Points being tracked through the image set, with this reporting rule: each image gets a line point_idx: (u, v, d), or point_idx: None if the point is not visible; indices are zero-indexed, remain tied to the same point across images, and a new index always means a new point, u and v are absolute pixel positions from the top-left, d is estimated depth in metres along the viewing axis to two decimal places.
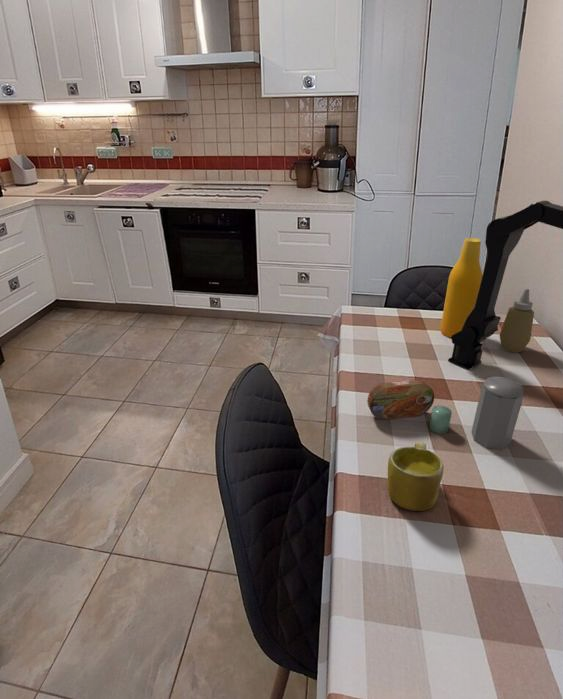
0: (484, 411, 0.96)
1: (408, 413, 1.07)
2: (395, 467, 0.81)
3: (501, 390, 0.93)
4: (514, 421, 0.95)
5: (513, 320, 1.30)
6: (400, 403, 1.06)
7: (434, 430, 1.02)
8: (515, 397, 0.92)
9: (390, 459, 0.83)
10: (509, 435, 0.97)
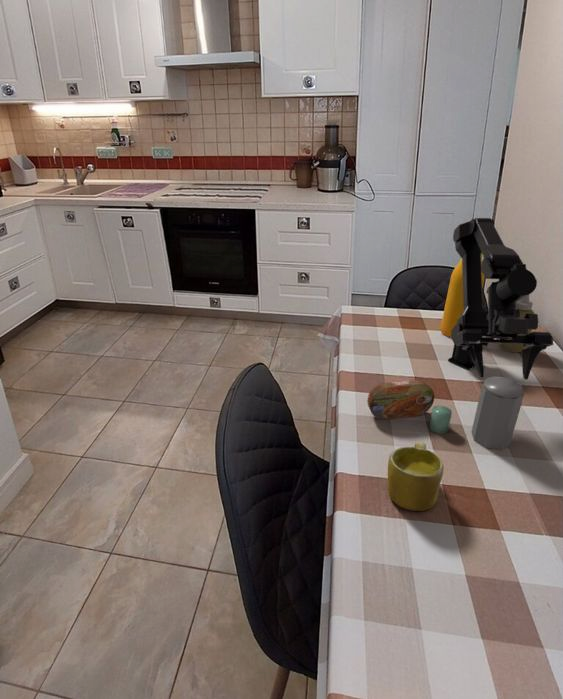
0: (484, 411, 0.96)
1: (408, 413, 1.07)
2: (395, 467, 0.81)
3: (501, 390, 0.93)
4: (514, 421, 0.95)
5: None
6: (400, 403, 1.06)
7: (434, 430, 1.02)
8: (515, 397, 0.92)
9: (390, 459, 0.83)
10: (509, 435, 0.97)
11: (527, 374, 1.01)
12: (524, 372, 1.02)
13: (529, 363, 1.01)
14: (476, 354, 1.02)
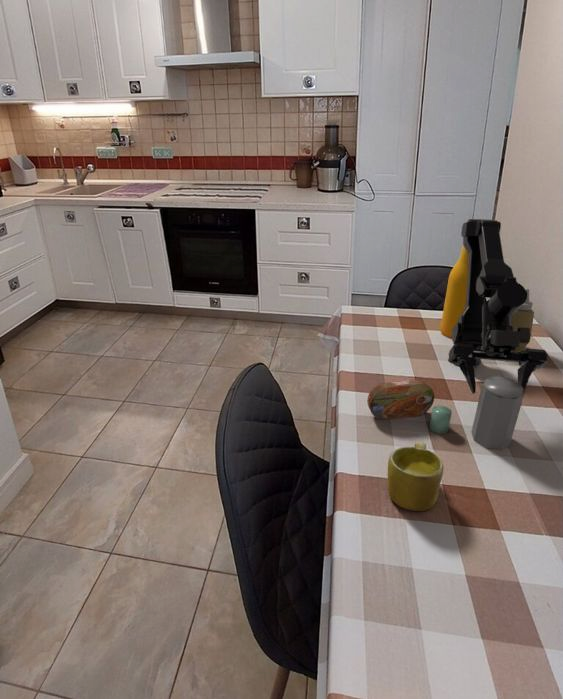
0: (484, 411, 0.96)
1: (408, 413, 1.07)
2: (395, 467, 0.81)
3: (501, 390, 0.93)
4: (514, 421, 0.95)
5: (513, 320, 1.30)
6: (400, 403, 1.06)
7: (434, 430, 1.02)
8: (515, 397, 0.92)
9: (390, 459, 0.83)
10: (509, 435, 0.97)
11: None
12: None
13: (524, 380, 0.98)
14: (468, 369, 0.99)
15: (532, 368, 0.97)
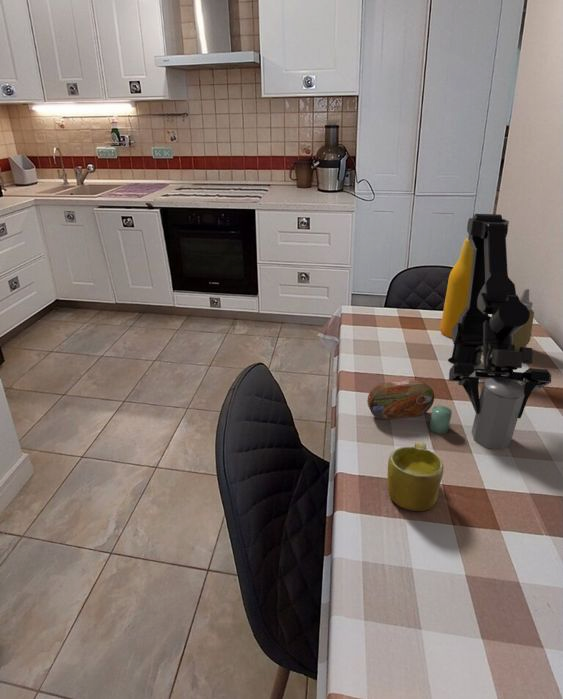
0: (484, 411, 0.96)
1: (408, 413, 1.07)
2: (395, 467, 0.81)
3: (502, 390, 0.93)
4: (514, 421, 0.95)
5: None
6: (400, 403, 1.06)
7: (434, 430, 1.02)
8: (516, 397, 0.92)
9: (390, 459, 0.83)
10: (509, 435, 0.97)
11: (520, 412, 0.95)
12: None
13: None
14: (472, 389, 0.97)
15: (531, 388, 0.95)
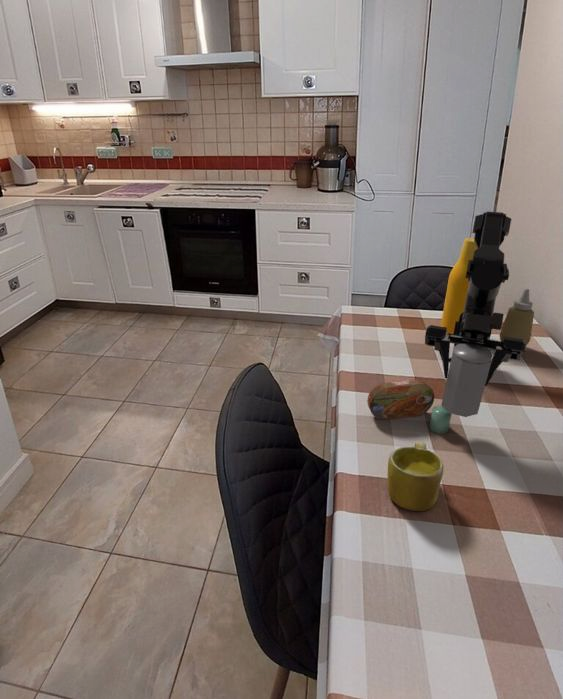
0: (450, 375, 0.95)
1: (408, 413, 1.07)
2: (395, 467, 0.81)
3: (467, 355, 0.92)
4: (480, 389, 0.94)
5: (513, 320, 1.30)
6: (400, 403, 1.06)
7: (434, 430, 1.02)
8: (479, 363, 0.90)
9: (390, 459, 0.83)
10: (475, 403, 0.95)
11: (487, 380, 0.93)
12: None
13: (491, 368, 0.94)
14: (442, 352, 0.97)
15: (501, 356, 0.93)
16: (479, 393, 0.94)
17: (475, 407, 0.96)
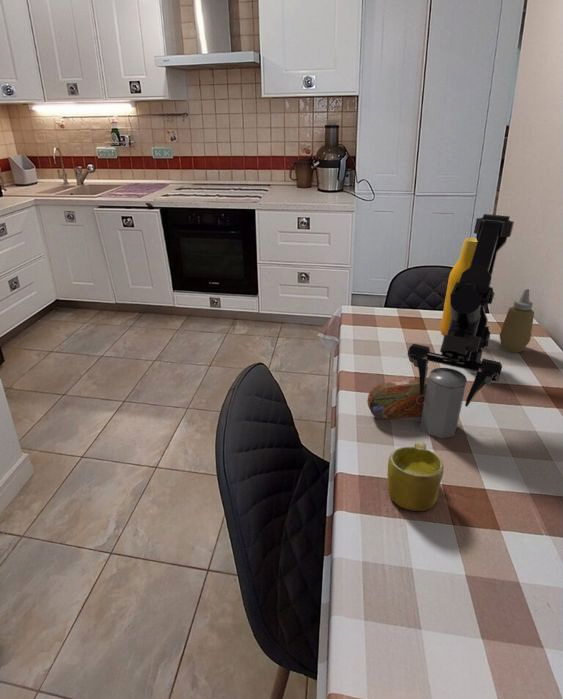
0: (427, 398, 1.00)
1: (408, 413, 1.07)
2: (395, 467, 0.81)
3: (442, 379, 0.97)
4: (455, 412, 0.98)
5: (513, 320, 1.30)
6: (400, 403, 1.06)
7: None
8: (452, 388, 0.95)
9: (390, 459, 0.83)
10: (450, 426, 1.00)
11: (467, 400, 0.97)
12: None
13: (472, 389, 0.97)
14: (419, 370, 1.01)
15: (482, 378, 0.96)
16: (454, 416, 0.99)
17: (451, 429, 1.00)
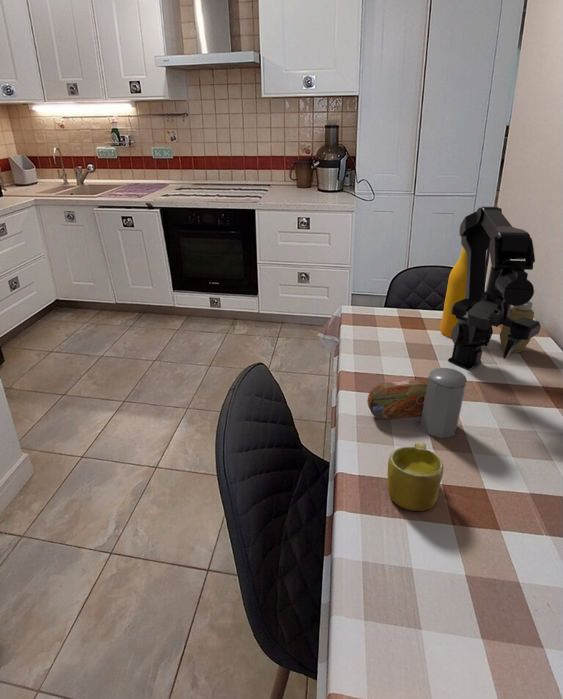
0: (427, 398, 1.00)
1: (408, 413, 1.07)
2: (395, 467, 0.81)
3: (442, 379, 0.97)
4: (455, 412, 0.98)
5: None
6: (400, 403, 1.06)
7: None
8: (452, 388, 0.95)
9: (390, 459, 0.83)
10: (450, 426, 1.00)
11: (504, 355, 1.08)
12: None
13: (507, 346, 1.06)
14: (463, 325, 1.13)
15: (513, 340, 1.04)
16: (454, 416, 0.99)
17: (451, 429, 1.00)
